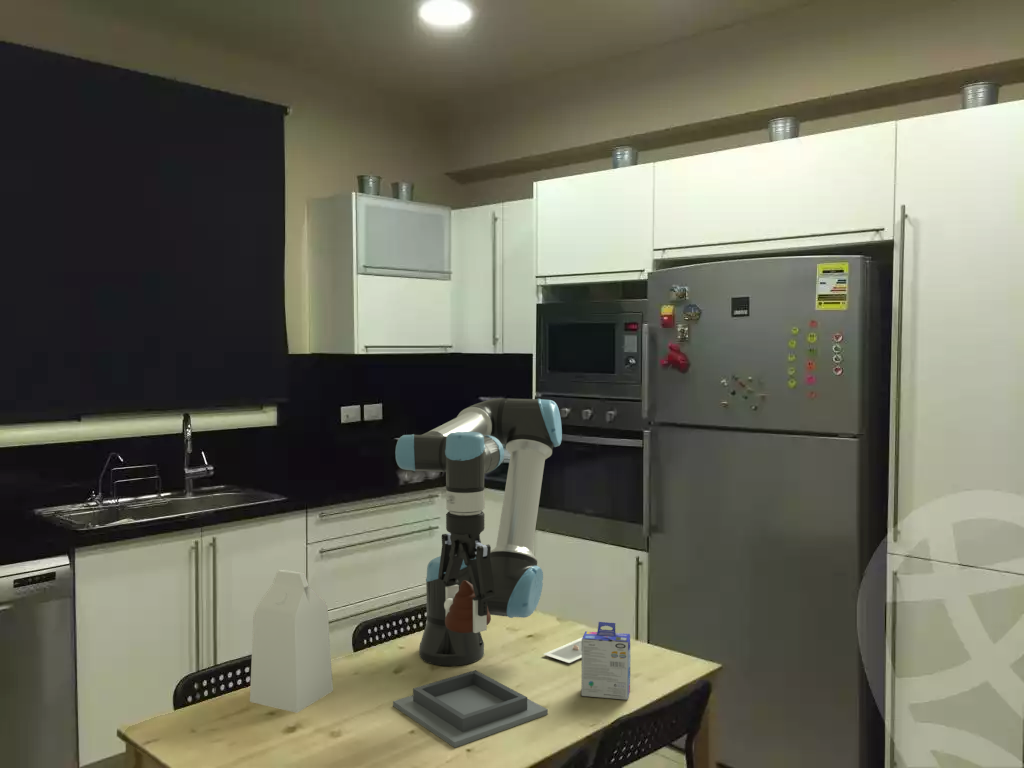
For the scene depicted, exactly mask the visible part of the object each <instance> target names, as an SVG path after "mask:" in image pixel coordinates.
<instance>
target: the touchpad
mask: <svg viewBox="0 0 1024 768" xmlns="http://www.w3.org/2000/svg"><path fill="white" fill-rule="evenodd" d="M582 638H583V637H579V638H577V639H575V640H573V641H569V642H568V643H566V644H564V645H561V646H559V647H557V648H554V649H551V650H550V651H546V652H544V653H543V654H542V655H544V656H546V657H550V658H553V659H556V660H559V661H562V662H565V663H568V664H570V663H573V662H575V661H578V660H580V659H582Z"/></svg>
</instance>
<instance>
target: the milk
mask: <svg viewBox="0 0 1024 768" xmlns="http://www.w3.org/2000/svg"><path fill="white" fill-rule="evenodd" d="M327 604H328V603H327V602H326V601H325V599H323V598H322V597H321V596H320V595H319V594H318V593H317V592H316V591H315V590H313V589H312V587H310V585H309V583H308V580H307V576H306V574H305V572H302V571H297V570H291V569H290V570H289V569H284V568H283V569H279V570H278V569H277V571H276V574H275V577H274V579H273V582H272V584H271V585H270V587H269V588H268V590H267V591H266V593H265V594H264V595H263V597H262V598H261V599H260V601H259V602H258V604H257V605H256V607H255V609H254V612H253V620H252V639H251V640H252V641H251V642H252V643H251V663H250V664H251V666H250V668H251V669H250V689H249V691H250V692H249V702H250V703H253V704H258V705H261V706H266V707H270V708H275V709H279V710H283V711H287V712H292V713H294V714H295V713H296V714H298V713H299V712H301V711H303V710H304V709H306V708H308V707H309V706H311V705H313V704H314V703H316V702H318V701H319V700H320V699H322V698H323V697H325V696H327V695H329V694H330V693H332V692H333V691H334V687H333V685H334V684H333V673H332V672H333V671H332V670H333V669H332V654H331V641H330V640H331V639H330V626H329V625H330V623H329V611H328V605H327Z"/></svg>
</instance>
